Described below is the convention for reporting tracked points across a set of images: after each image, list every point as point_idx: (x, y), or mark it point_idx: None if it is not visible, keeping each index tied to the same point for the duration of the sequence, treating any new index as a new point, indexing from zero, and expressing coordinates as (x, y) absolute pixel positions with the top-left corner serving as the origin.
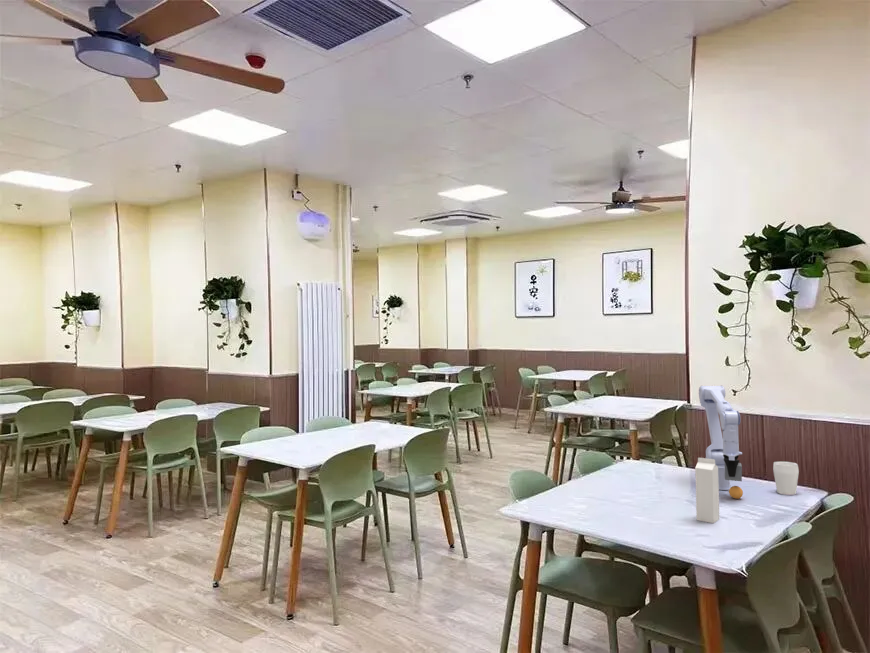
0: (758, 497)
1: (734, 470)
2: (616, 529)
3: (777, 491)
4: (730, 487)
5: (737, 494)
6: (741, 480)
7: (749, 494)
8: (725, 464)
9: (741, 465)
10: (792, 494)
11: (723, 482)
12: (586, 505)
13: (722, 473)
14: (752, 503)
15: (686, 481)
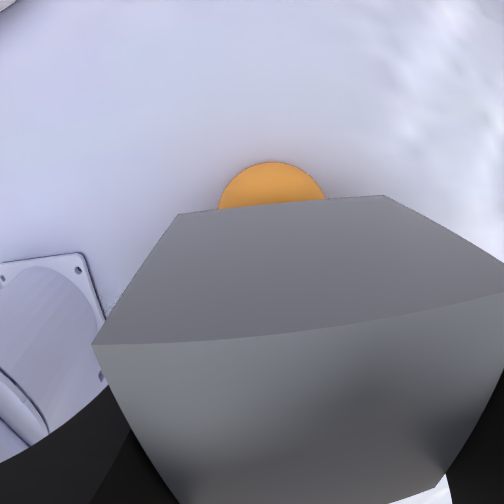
0: (163, 60)
1: None
2: None
3: (10, 2)
4: (36, 261)
5: None
6: (389, 200)
7: (105, 128)
8: (418, 491)
9: (464, 307)
10: None
11: (67, 320)
12: (439, 491)
13: (42, 368)
14: (358, 96)
15: None
